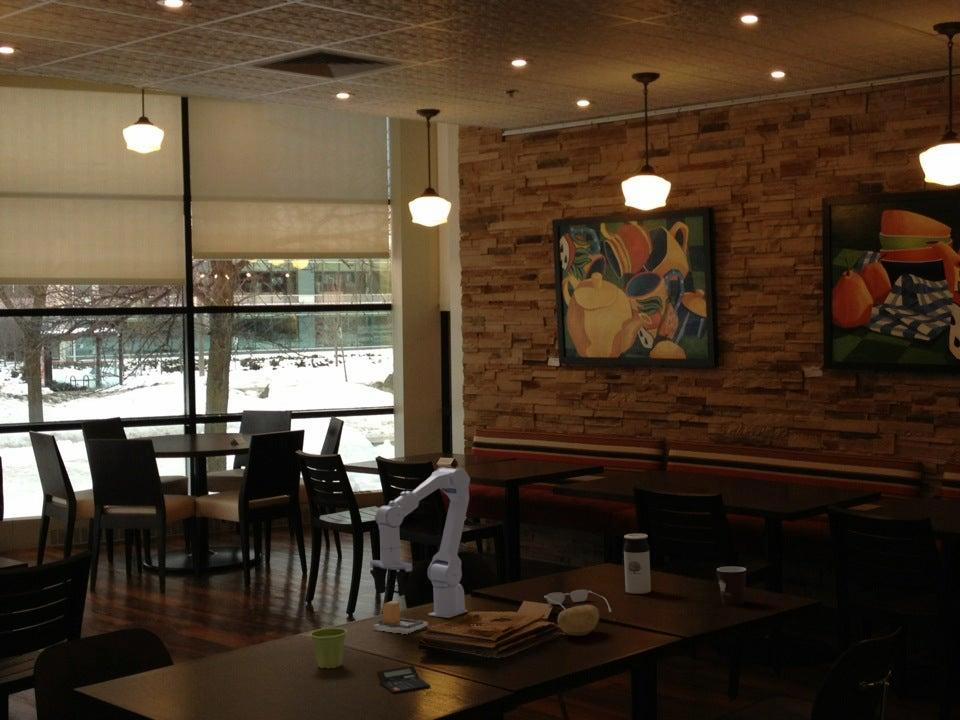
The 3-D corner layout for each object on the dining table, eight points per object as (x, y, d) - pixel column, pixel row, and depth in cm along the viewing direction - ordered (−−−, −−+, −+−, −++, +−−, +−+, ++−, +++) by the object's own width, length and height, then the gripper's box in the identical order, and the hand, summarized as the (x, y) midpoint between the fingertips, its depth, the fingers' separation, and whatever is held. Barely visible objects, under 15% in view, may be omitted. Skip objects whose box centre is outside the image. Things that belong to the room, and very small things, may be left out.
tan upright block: (392, 619, 344) (391, 600, 344) (400, 620, 342) (399, 601, 342) (383, 622, 340) (382, 603, 340) (391, 623, 339) (390, 604, 339)
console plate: (396, 622, 347) (396, 615, 347) (428, 627, 340) (427, 619, 340) (373, 630, 339) (373, 622, 339) (405, 634, 332) (405, 626, 331)
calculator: (393, 695, 275) (392, 682, 275) (377, 683, 286) (376, 670, 286) (430, 689, 279) (429, 676, 279) (413, 677, 290) (412, 665, 290)
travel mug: (633, 588, 380) (630, 532, 380) (655, 590, 376) (652, 534, 375) (621, 593, 374) (618, 536, 374) (643, 595, 369) (641, 538, 369)
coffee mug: (750, 604, 350) (748, 571, 350) (721, 606, 350) (719, 572, 350) (742, 596, 361) (741, 564, 361) (714, 597, 362) (712, 565, 361)
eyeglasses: (590, 601, 366) (589, 588, 366) (614, 613, 349) (614, 600, 349) (544, 606, 361) (543, 593, 361) (566, 619, 344) (566, 605, 344)
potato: (610, 632, 325) (609, 603, 325) (577, 642, 315) (576, 613, 315) (582, 627, 332) (581, 598, 332) (550, 637, 322) (548, 608, 321)
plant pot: (318, 673, 296) (317, 638, 296) (306, 664, 304) (305, 631, 304) (353, 667, 300) (352, 633, 300) (340, 659, 309) (339, 626, 309)
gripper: (362, 547, 343) (364, 594, 343) (400, 551, 334) (402, 599, 334) (378, 544, 348) (380, 589, 348) (416, 547, 340) (417, 594, 340)
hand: (392, 594), depth 342 cm, fingers open, 7 cm apart
